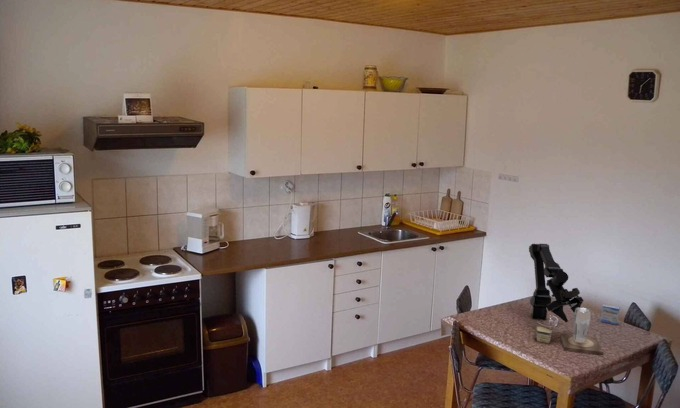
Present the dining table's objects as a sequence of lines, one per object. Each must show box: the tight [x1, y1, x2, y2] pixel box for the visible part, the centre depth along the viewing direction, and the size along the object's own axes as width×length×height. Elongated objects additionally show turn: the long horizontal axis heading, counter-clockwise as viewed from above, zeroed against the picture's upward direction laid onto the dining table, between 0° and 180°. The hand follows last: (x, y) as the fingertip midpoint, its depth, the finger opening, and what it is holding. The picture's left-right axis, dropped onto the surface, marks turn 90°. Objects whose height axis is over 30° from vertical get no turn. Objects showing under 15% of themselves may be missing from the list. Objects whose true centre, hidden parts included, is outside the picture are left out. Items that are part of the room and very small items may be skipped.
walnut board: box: [559, 333, 604, 356], centre depth 259 cm, size 16×16×2 cm
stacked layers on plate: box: [535, 326, 553, 344], centre depth 263 cm, size 10×9×6 cm
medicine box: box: [600, 303, 621, 326], centre depth 289 cm, size 8×4×9 cm, turn 62°
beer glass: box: [572, 306, 592, 344], centre depth 259 cm, size 7×7×15 cm
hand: (574, 320), depth 262 cm, fingers open, 9 cm apart
